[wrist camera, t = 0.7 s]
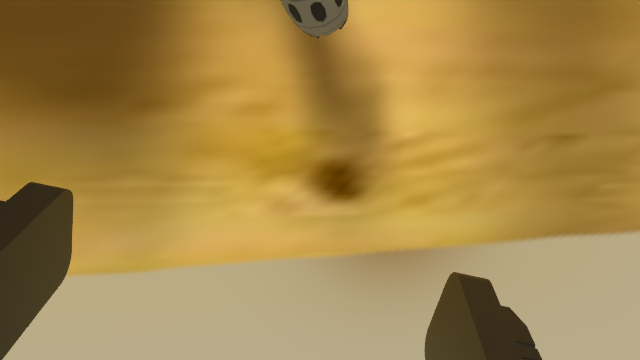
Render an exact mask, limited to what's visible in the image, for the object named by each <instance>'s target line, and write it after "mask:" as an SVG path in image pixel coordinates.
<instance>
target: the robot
mask: <svg viewBox="0 0 640 360" xmlns="http://www.w3.org/2000/svg"><path fill="white" fill-rule="evenodd" d="M281 2H282V4H283V6H284V8H285V10H286V12H287V13H288V15H289V16H290V17H291V19H292V20H293V21H294V23H295V24H296V25H297V26H298V27H299V28H300V29H301V30H303V32H305V33H306V34H308V35H310V36H313V37H316V38H319V37H320V36H325V35H330V34H331V33H333V32H334V31H336V30H338V29H342V27H343V26H344V24H345V23H346V21H347V18H348V0H281Z"/></svg>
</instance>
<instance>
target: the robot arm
mask: <svg viewBox="0 0 640 360" xmlns="http://www.w3.org/2000/svg"><path fill="white" fill-rule="evenodd" d="M72 224H73V195H72V192H71V191H70V190H68V189H63V188H58V187H53V186H49V185H44V184H39V183H34V182H30V183H28V184H27V185H25V186H24V187H23V188H22V189H21V190H19V191H18V192H17V193H16V194H15V195H13V196H12V197H11V198H10V199H9V200H7V201H6V202H5V201H0V360H2V359H3V358H4V356H5V355H6V354H7V352H8V351H9V350H10V349H11V347H12V346H13V345H14V344H15V342H16V341H17V340H18V338H19V337H20V336H21V335H22V333H23V332H24V331H25V329H26V328H27V327H28V326H29V324H30V323H31V322H32V320H33V319H34V318H35V316H36V315H37V314H38V313H39V311H40V310H41V309H42V308H43V306H44V305H45V304H46V302H47V301H48V300H49V299H50V297H51V296H52V295H53V293H54V292H55V291H56V290H57V288H58V287H59V286H60V284H61V283H62V281H63V280H64V278H65V276H66V273H67V271H68V268H69V264H70V260H71V252H72ZM425 341H426V342H425V359H426V360H542V358H541V357H540V354H539V352H538V350H537V349H535V343H534V341H533V339H532V337H531V335H530V332H529V330H528V328H527V326H526V325H525V324H524V323H523V322H522V321H521V320H520V319H519V317H518V316H517V315H516V314H515V313H514V312H513V311H512V310H511V309H510V308H509V307H504V306H501V305H500V303H499V301H498V298H497V296H496V294H495V291H494V289H493V286H492V284H491V282H490V281H489V280H488V279H485V278H480V277H475V276H470V275H466V274H461V273H456V272H453V273H452V274H451V275H450V276H449V278H448V280H447V282H446V284H445V287H444V289H443V292H442V295H441V297H440V300H439V302H438V305H437V307H436V310H435V312H434V315H433V317H432V320H431V322H430V325H429V328H428V331H427V335H426V340H425Z"/></svg>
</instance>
